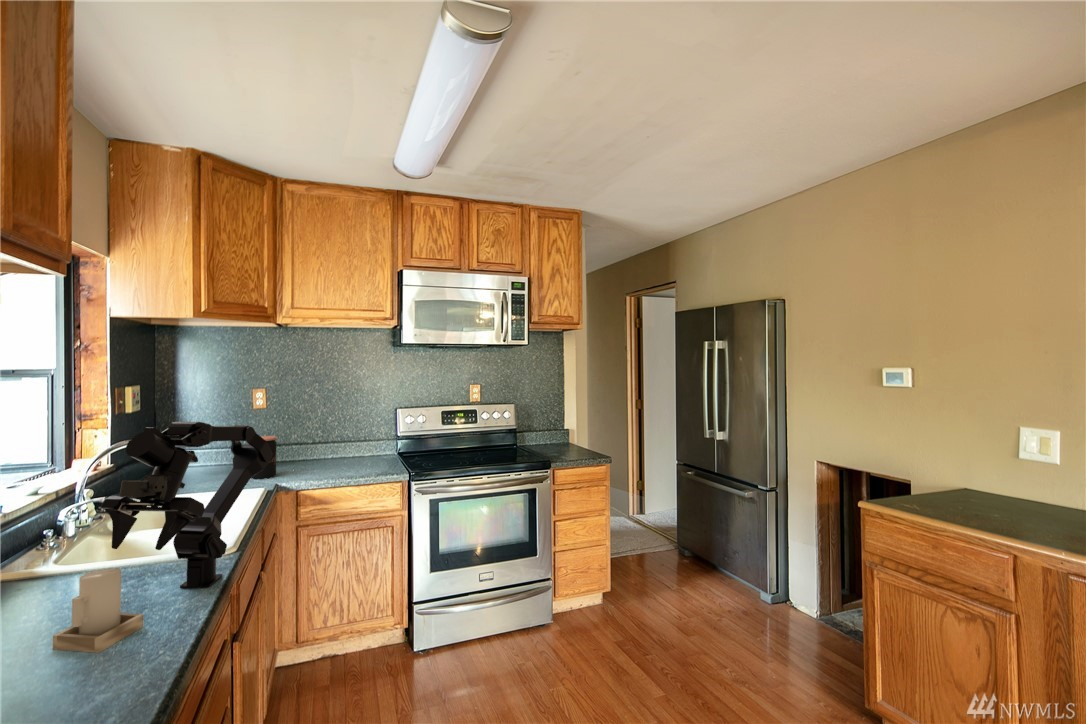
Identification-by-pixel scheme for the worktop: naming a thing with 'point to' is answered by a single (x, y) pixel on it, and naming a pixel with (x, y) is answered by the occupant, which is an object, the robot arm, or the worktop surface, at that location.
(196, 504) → the robot arm
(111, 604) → the jug
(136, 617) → the holder
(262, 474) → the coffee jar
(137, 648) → the worktop surface
